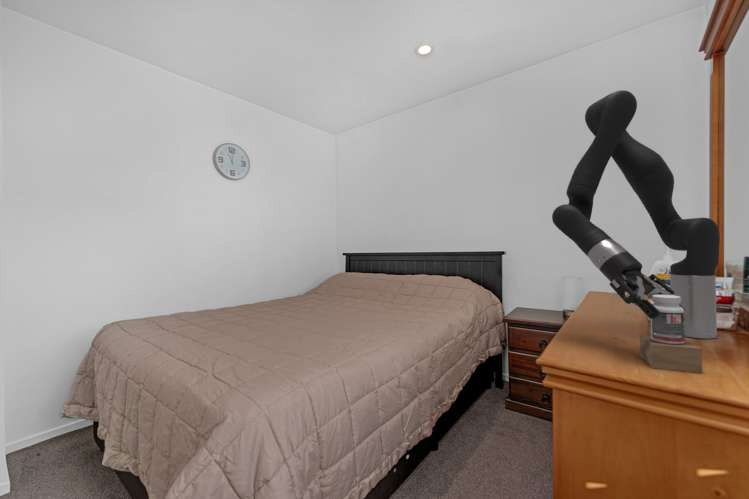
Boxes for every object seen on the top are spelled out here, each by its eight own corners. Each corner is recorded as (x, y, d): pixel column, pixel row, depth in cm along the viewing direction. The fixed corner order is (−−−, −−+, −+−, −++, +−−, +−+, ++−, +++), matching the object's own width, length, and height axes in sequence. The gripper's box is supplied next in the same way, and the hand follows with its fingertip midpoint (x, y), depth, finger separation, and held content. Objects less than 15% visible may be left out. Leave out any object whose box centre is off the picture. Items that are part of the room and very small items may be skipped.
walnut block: (640, 356, 76) (639, 335, 76) (684, 360, 73) (684, 338, 73) (652, 368, 69) (651, 344, 69) (702, 373, 66) (701, 348, 66)
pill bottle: (692, 345, 68) (691, 298, 68) (661, 344, 69) (659, 298, 69) (673, 337, 73) (672, 294, 73) (644, 337, 74) (643, 294, 74)
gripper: (604, 251, 76) (662, 307, 66) (643, 249, 81) (703, 301, 71) (583, 272, 81) (634, 327, 71) (621, 269, 86) (674, 321, 76)
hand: (669, 314), depth 71 cm, fingers open, 8 cm apart
